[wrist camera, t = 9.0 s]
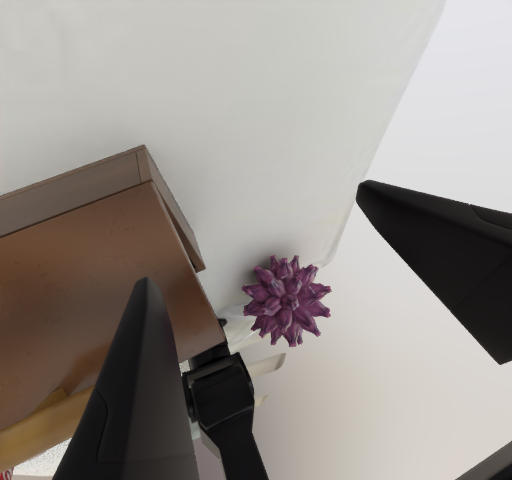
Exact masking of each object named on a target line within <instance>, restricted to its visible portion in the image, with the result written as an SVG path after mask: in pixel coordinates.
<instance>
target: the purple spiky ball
mask: <svg viewBox="0 0 512 480" xmlns="http://www.w3.org/2000/svg"><path fill="white" fill-rule="evenodd" d="M270 258H271V263H270V268H269V269H270V271H269V270H266V269H262V268H261V267H259V266H256V267H254V273H255V274H256V276H257V281H258V283H259V284H252V285H249V286H244V285H243V287H242V291H244V292H245V293H246V294H247V295H250V296H251V297H252V298H253V299H254V300H252V301H251V302H250V303H249V304H248V305H246V306H244V311H243V313H244V316H248V315H253V316H257V318H256V321H255V324H254V325H253V326H252V327H251V330H253V331H255V330H257V329H260V328H261V331H260V333H259V335H260V336H261V337H262V338H264V336H265V335H266V334H267V333H269V332H271V339H272V340H271V345H275V344H276V342H277V340H278V339H279V338H280V337H281V336H282V335H283V336H284V337H285V339H286V340H287V341H288V343H289V347H294V346H295V347H296V341H297V343H298V345H299V344H302V343H303V341H302V332H303V329H304V330H306V331H309V332H312V333H314V334H315V335H316V336H317V337H318V336H320V334H321V333H320V332H319V330H318V328H317V325H316V322H315V320H314V318H313V317H317V316H324V317H327V318H328V317H330V314H329V312H330V309H329V308H327V307H325V306H324V305H323V304H322V303H321V302H320V301H319V300H320V299H322V298H323V297H324V296H325V295H326V294H327V293H330V292H332V291H331V288H330V286H324V285H322V284H315V283H312V282H313V281H314V279H315V276H316V272H317V271H318V268H317V267H314V266H313V265H312V264H311V265H309V266H308V267H307V268H304V267H303V268H302V269H301V270H300V267H299V263H298V259H299V256H296V255H295V256H294V259H293V260H292V261H291V262H290V264H289V263H288V259H287V258H282V261H280V262H279V261H278V260H277V259H276V257H275V255H274V256H273V255H272V256H270ZM312 316H313V317H312Z"/></svg>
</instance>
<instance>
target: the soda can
mask: <svg viewBox="0 0 512 480" xmlns="http://www.w3.org/2000/svg"><path fill="white" fill-rule="evenodd" d="M13 469H14V467H13V468H11V469H9V470H7V471H5V472H3V473H0V480H11V479H12V474H13Z"/></svg>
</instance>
